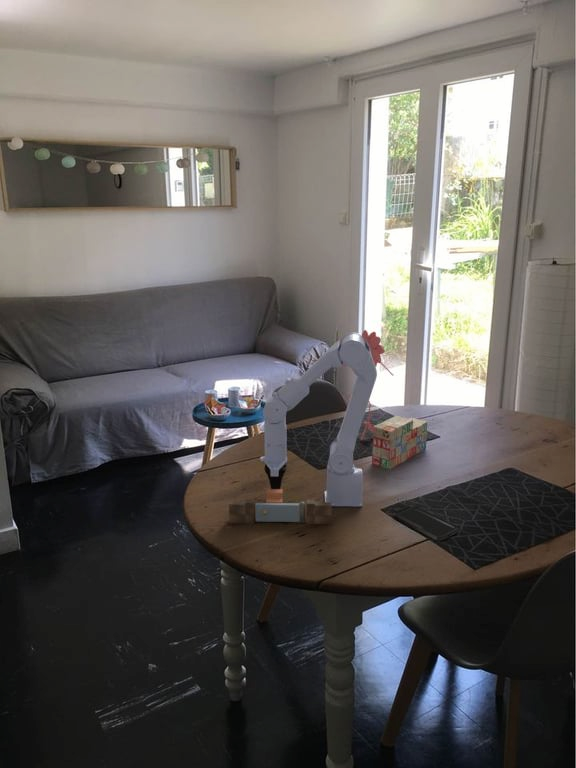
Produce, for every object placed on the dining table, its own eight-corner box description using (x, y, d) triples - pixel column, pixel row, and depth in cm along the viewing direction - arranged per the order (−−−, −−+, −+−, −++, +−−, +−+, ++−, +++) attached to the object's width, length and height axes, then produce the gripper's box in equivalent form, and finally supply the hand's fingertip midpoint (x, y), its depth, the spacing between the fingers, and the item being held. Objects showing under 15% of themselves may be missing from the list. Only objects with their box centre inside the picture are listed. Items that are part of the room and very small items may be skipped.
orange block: (282, 506, 164) (282, 489, 162) (281, 518, 158) (281, 500, 156) (267, 506, 164) (266, 489, 162) (265, 518, 158) (265, 499, 156)
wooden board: (330, 520, 156) (331, 500, 155) (331, 524, 155) (331, 504, 153) (230, 519, 157) (229, 499, 155) (229, 523, 155) (228, 502, 153)
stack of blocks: (409, 444, 205) (411, 408, 201) (426, 449, 201) (428, 412, 197) (371, 464, 189) (373, 425, 186) (389, 470, 185) (391, 430, 182)
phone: (412, 504, 163) (460, 528, 151) (412, 508, 163) (459, 532, 152) (391, 513, 158) (438, 538, 147) (390, 517, 159) (438, 542, 147)
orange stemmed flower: (376, 449, 200) (383, 340, 191) (325, 425, 220) (329, 326, 211) (411, 439, 209) (419, 335, 199) (358, 418, 229) (363, 322, 219)
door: (304, 519, 156) (305, 501, 155) (304, 523, 154) (305, 505, 153) (255, 519, 156) (255, 500, 155) (255, 523, 155) (255, 504, 153)
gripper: (261, 432, 171) (262, 478, 175) (258, 453, 157) (258, 502, 161) (287, 432, 171) (287, 478, 175) (286, 453, 157) (286, 502, 161)
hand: (275, 490), depth 168 cm, fingers closed
